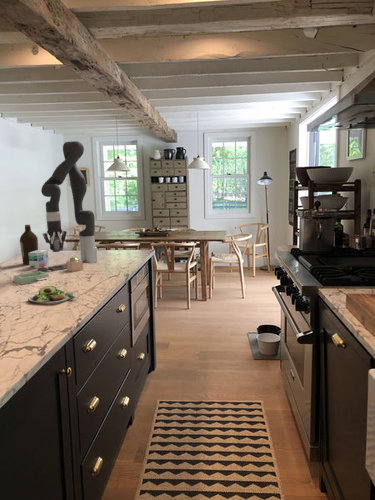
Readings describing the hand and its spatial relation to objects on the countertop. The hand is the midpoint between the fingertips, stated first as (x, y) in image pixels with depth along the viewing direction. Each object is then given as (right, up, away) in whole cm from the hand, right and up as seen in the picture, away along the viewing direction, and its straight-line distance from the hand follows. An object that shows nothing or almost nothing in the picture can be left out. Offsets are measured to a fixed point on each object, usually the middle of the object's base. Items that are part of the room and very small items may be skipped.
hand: (56, 249), depth 221 cm
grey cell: (0, -1, 0) cm, 1 cm away
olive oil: (-26, -9, +28) cm, 39 cm away
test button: (-6, -9, -5) cm, 13 cm away
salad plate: (+17, -22, -55) cm, 61 cm away
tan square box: (+12, -13, -2) cm, 18 cm away
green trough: (-6, -16, -20) cm, 26 cm away
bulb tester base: (-3, -13, -1) cm, 13 cm away
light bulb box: (-13, -12, +10) cm, 20 cm away
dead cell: (+12, -12, -3) cm, 17 cm away
